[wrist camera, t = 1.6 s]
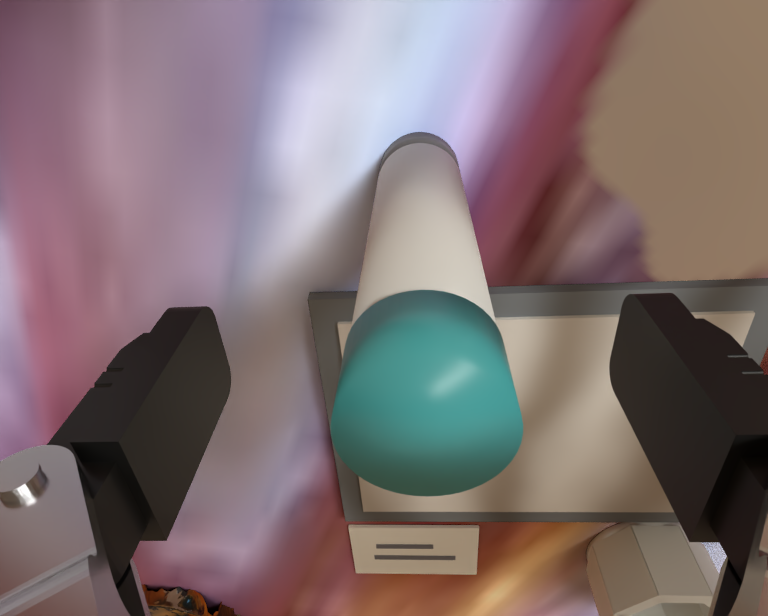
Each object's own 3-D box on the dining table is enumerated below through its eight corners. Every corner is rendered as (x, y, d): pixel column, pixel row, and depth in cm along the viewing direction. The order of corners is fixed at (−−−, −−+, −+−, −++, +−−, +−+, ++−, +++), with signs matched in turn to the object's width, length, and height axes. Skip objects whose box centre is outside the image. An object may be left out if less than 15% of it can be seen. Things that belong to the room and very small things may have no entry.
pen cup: (709, 518, 30) (752, 596, 26) (682, 580, 33) (716, 657, 29) (594, 517, 30) (620, 594, 26) (579, 579, 34) (600, 654, 30)
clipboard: (784, 277, 21) (802, 292, 20) (689, 513, 30) (698, 532, 29) (309, 292, 23) (305, 307, 22) (346, 512, 31) (344, 530, 30)
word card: (348, 524, 32) (348, 528, 32) (478, 525, 31) (479, 528, 31) (356, 570, 34) (355, 573, 34) (476, 571, 34) (476, 575, 34)
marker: (460, 128, 19) (531, 357, 7) (459, 208, 20) (515, 496, 9) (375, 133, 19) (318, 361, 8) (381, 212, 21) (341, 496, 9)
